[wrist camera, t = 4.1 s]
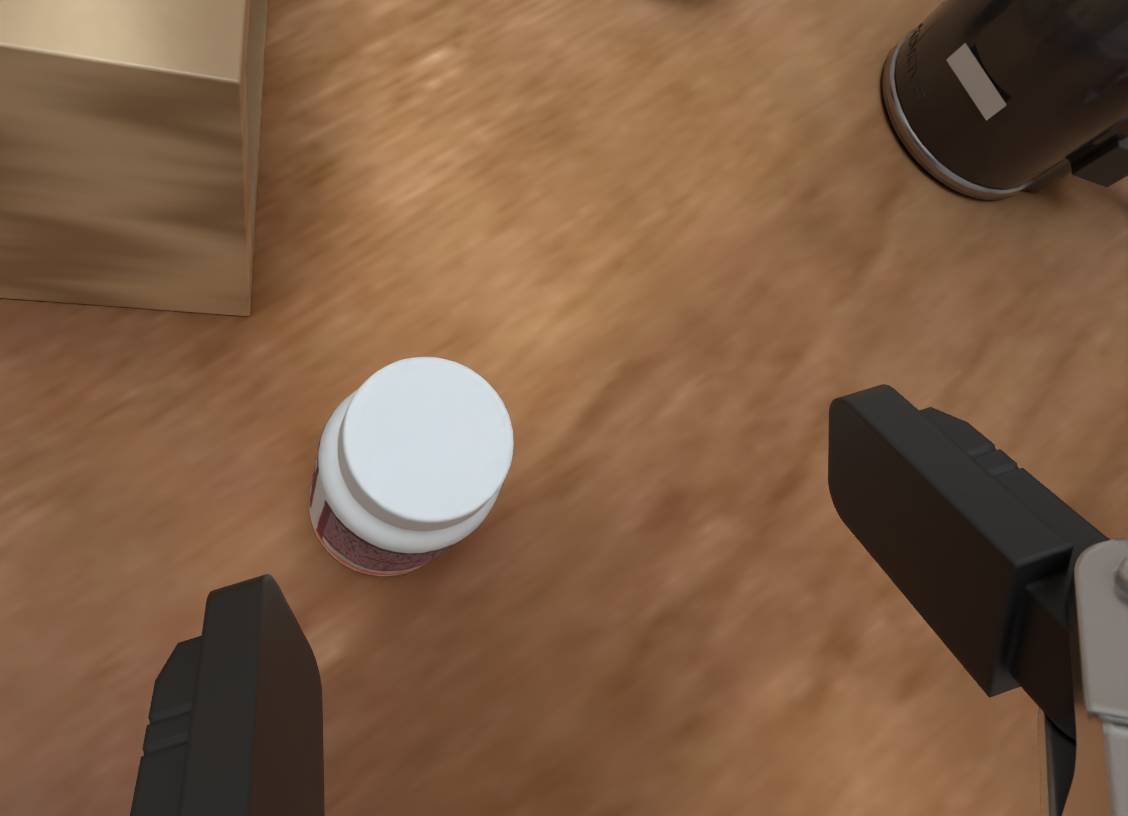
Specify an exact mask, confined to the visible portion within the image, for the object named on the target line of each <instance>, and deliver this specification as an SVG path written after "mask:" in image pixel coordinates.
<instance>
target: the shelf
mask: <svg viewBox="0 0 1128 816" xmlns="http://www.w3.org/2000/svg"><path fill="white" fill-rule="evenodd" d="M268 1H269V0H0V298H10V299H23V300H37V301H50V302H64V303H77V304H90V305H104V306H117V307H130V308H144V309H157V310H171V311H184V312H197V313H211V314H224V315H238V316H250V311H251V294H252V277H253V274H252V273H253V259H254V242H255V225H256V208H257V191H258V173H259V156H260V139H261V122H262V105H263V87H264V70H265V53H266V36H267V19H268Z"/></svg>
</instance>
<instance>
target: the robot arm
mask: <svg viewBox="0 0 1128 816" xmlns="http://www.w3.org/2000/svg"><path fill="white" fill-rule="evenodd" d="M882 85H883V95H884V101H885V105H886V109H887V112H888V115H889V118H890V120H891V122H892V125H893V127H894V129H895V131H896V133H897V135H898V136H899V138H900V139H901V141H902V143H903V144H904V146H905V147H906V148H907V150H908V151H909V152H910V154H911V155H912V156H913V157H914V158H915V160H916V161H917V162H918V163H919V164H920V165H921V166H922V167H923V168H924V169H925V170H926V171H927V172H929V173H930V174H931V175H932V176H933V177H935V178H936V179H937V180H939V181H940V182H942V183H943V184H945V185H946V186H948V187H950V188H951V189H953V190H955V191H957V192H960V193H962V194H965V195H967V196H971V197H974V198H979V199H988V200H995V199H1002V198H1006V197H1009V196H1012V195H1014V194H1016V193H1017V192H1019V191H1020V190H1022V189H1025V190H1029V191H1032V192H1035V193H1038V192H1039V191H1041V190H1042V189H1044V188H1046V187H1047V186H1049V185H1051V184H1052V183H1054V182H1055V181H1057V180H1059V179H1060V178H1062V177H1064V176H1065V175H1067V174H1068V173H1070V172H1072V174H1073V175H1075V176H1077V177H1080V178H1083V179H1086V180H1088V181H1091V182H1094V183H1096V184H1099V185H1102V186H1105V187H1108V186H1110V185H1112V184H1114V183H1115V182H1117V181H1119V180H1121V179H1122V178H1124V177H1126V176H1128V0H944V1H943V2H942V3H941V4H940V5H939V6H938V7H937V8H936V9H935V10H934V11H933V12H932V13H931V14H930V15H929V16H928V17H927V18H926V19H925V20H924V21H923V22H922V23H921V24H920V25H919V26H918V27H917V28H915V29H914V30H912V31H911V32H909V33H908V34H907V35H906V36H905V37H904V38H903V39H902V40H901V41H900V42H899V43H898V44H897V45H896V46H895V47H894V48H893V49H892V51H891V52H890V54H889V56H888V58H887V60H886V63H885V66H884V71H883V82H882ZM828 484H829V490H830V495H831V498H832V501H833V504H834V506H835V508H836V511H837V512H838V514H839V516H840V518H841V519H842V521H843V522H844V523H845V525H846V526H847V527H848V528H849V529H850V531H851V532H852V533H853V534H854V535H855V537H856V538H857V539H858V540H859V541H860V543H861V544H862V545H863V546H864V547H865V549H866V550H867V551H868V552H869V553H870V555H871V556H872V557H873V558H874V559H875V561H876V562H877V563H878V564H879V566H880V567H881V568H882V569H883V570H884V572H885V573H886V574H887V575H888V576H889V578H890V579H891V580H892V581H893V582H894V584H895V585H896V586H897V587H898V588H899V590H900V591H901V592H902V593H903V594H904V596H905V597H906V598H907V599H908V600H909V602H910V603H911V604H912V605H913V606H914V608H915V609H916V610H917V611H918V612H919V614H920V615H921V616H922V617H923V618H924V620H925V621H926V622H927V623H928V624H929V626H930V627H931V628H932V629H933V630H934V632H935V633H936V634H937V635H938V636H939V638H940V639H941V640H942V641H943V642H944V644H945V645H946V646H947V647H948V648H949V650H950V651H951V652H952V653H953V654H954V656H955V657H956V658H957V659H958V660H959V662H960V663H961V664H962V665H963V666H964V668H965V669H966V670H967V671H968V672H969V674H970V675H971V676H972V677H973V678H974V680H975V681H976V682H977V683H978V685H979V686H980V687H981V688H982V689H983V691H984V692H985V693H986V694H987V695H988V697H992V696H995V695H998V694H1001V693H1003V692H1006V691H1009V690H1012V689H1015V688H1017V687H1020V686H1021V687H1022V688H1023V689H1024V690H1025V691H1026V693H1027V694H1028V695H1029V696H1030V697H1031V698H1032V699H1033V700H1034V702H1035V703H1036V704H1037V705H1038V706H1039V710H1038V719H1037V720H1038V747H1039V774H1040V801H1041V816H1128V539H1115V540H1110V539H1108V538H1107V537H1106V536H1104V535H1103V534H1102V533H1101V532H1100V531H1098V530H1097V529H1096V528H1095V527H1094V526H1092V525H1091V524H1090V523H1089V522H1087V521H1086V520H1085V519H1084V518H1083V517H1081V516H1080V515H1079V514H1078V513H1077V512H1075V511H1074V510H1073V509H1072V508H1071V507H1069V506H1068V505H1067V504H1066V503H1064V502H1063V501H1062V500H1061V499H1060V498H1058V497H1057V496H1056V495H1055V494H1054V493H1052V492H1051V491H1050V490H1049V489H1048V488H1046V487H1045V486H1044V485H1043V484H1041V483H1040V482H1039V481H1038V480H1037V479H1035V478H1034V477H1033V476H1032V475H1031V474H1029V473H1028V472H1027V471H1026V470H1024V469H1023V468H1021V469H1019V468H1018V466H1017V463H1016V462H1015V461H1014V460H1012V459H1011V458H1010V457H1009V456H1008V455H1006V454H1005V453H1004V452H1003V451H1001V450H1000V449H999V450H996V449H995V445H994V444H993V443H992V442H991V441H989V440H988V439H987V438H986V437H985V436H983V435H982V434H981V433H980V432H978V431H977V430H976V429H975V428H974V427H972V426H971V425H970V424H969V423H968V422H965V421H963V420H960V419H958V418H956V417H953V416H951V415H948V414H946V413H944V412H941V411H939V410H937V409H934V408H932V407H929V408H926V409H923V410H920V411H919V410H918V409H917V408H915V407H914V406H913V405H912V404H911V403H910V402H909V401H907V400H906V399H905V398H904V397H903V396H902V395H901V394H899V393H898V392H897V391H896V390H895V389H893V388H892V387H891V386H888V385H885V384H883V385H879V386H876V387H872V388H869V389H866V390H862V391H859V392H856V393H853V394H849V395H846V396H843V397H840V398H836V399H834V400H833V401H832V403H831V405H830V409H829V454H828ZM148 718H149V720H150V725H147V728H146V733H145V739H144V744H143V751H144V756H142V757H141V760H140V765H139V771H138V776H137V781H136V787H135V792H134V797H133V803H132V808H131V813H130V816H325V812H324V760H323V709H322V686H321V679H320V674H319V670H318V666H317V662H316V659H315V656H314V654H313V651H312V649H311V647H310V645H309V643H308V641H307V639H306V637H305V635H304V633H303V631H302V629H301V627H300V626H299V624H298V622H297V620H296V618H295V616H294V614H293V612H292V610H291V609H290V607H289V605H288V603H287V601H286V599H285V597H284V595H283V593H282V591H281V590H280V588H279V586H278V584H277V582H276V581H275V579H274V578H273V577H272V576H271V575H269V574H266V575H262V576H259V577H256V578H253V579H249V580H246V581H243V582H239V583H236V584H233V585H230V586H226V587H223V588H220V589H216V590H213V591H211V592H210V593H209V595H208V597H207V602H206V609H205V616H204V623H203V631H202V636H199V637H196V638H193V639H190V640H186V641H183V642H180V643H178V644H177V646H176V647H175V649H174V651H173V652H172V654H171V655H170V657H169V659H168V660H167V662H166V664H165V665H164V667H163V669H162V670H161V672H160V674H159V675H158V677H157V679H156V680H155V685H154V691H153V696H152V701H151V707H150V712H149V717H148Z"/></svg>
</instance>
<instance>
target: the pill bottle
mask: <svg viewBox="0 0 1128 816" xmlns="http://www.w3.org/2000/svg"><path fill="white" fill-rule="evenodd" d="M513 447H514V440H513V430H512V424H511V421H510V418H509V414H508V412H507V410H506V407H505V405H504V403H503V401H502V400H501V398H500V397H499V395H498V394H497V393H496V391H495V390H494V389H493V388H492V386H491V385H490V384H489V383H488V382H487V381H485V380H484V379H483V378H482V377H481V376H480V375H478V374H477V373H475V372H474V371H472V370H471V369H469V368H467V367H465V366H463V365H461V364H459V363H456V362H453V361H450V360H446V359H442V358H436V357H415V358H408V359H403V360H400V361H397V362H394V363H391V364H389V365H387V366H385V367H384V368H382V369H380V370H379V371H377V372H376V373H374V374H373V375H372V376H370V377H369V378H368V379H367V380H366V381H365V382H364V383H363V384H362V385H361V386H360V388H359V389H357V390H355V391H354V392H353V393H352V394H350V395H349V396H348V397H347V398H346V399H345V400H343V401H342V402H341V403H340V405H339V406H338V407H337V408H336V410H335V411H334V412H333V414H332V415H331V417H330V418H329V420H328V422H327V423H326V425H325V428H324V430H323V433H322V436H321V438H320V442H319V449H318V455H317V459H316V463H315V468H314V473H313V478H312V482H311V488H310V494H309V512H310V517H311V522H312V525H313V528H314V531H315V533H316V535H317V537H318V538H319V540H320V542H321V543H322V545H323V546H324V547H325V549H326V550H327V551H328V552H329V553H330V554H331V555H332V556H333V557H334V558H335V559H336V560H338V561H339V562H340V563H342V564H343V565H345V566H347V567H349V568H351V569H353V570H355V571H358V572H361V573H364V574H369V575H375V576H394V575H400V574H404V573H408V572H411V571H413V570H416V569H418V568H420V567H422V566H423V565H425V564H427V563H428V562H430V561H431V560H433V559H434V558H436V557H437V556H439V555H440V554H442V553H443V552H444V551H446V550H447V549H448V548H450V547H451V546H453V545H455V544H456V543H458V542H459V541H461V540H462V539H464V538H465V537H467V536H469V535H470V534H471V533H472V532H473V531H475V530H476V529H477V527H478V526H479V525H480V524H481V523H482V522H483V520H484V519H485V518H486V516H487V515H488V514H489V512H490V510H491V509H492V507H493V505H494V503H495V501H496V499H497V497H498V495H499V492H500V489H501V485H502V483H503V482H504V480H505V478H506V476H507V473H508V471H509V468H510V465H511V461H512V456H513Z"/></svg>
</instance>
